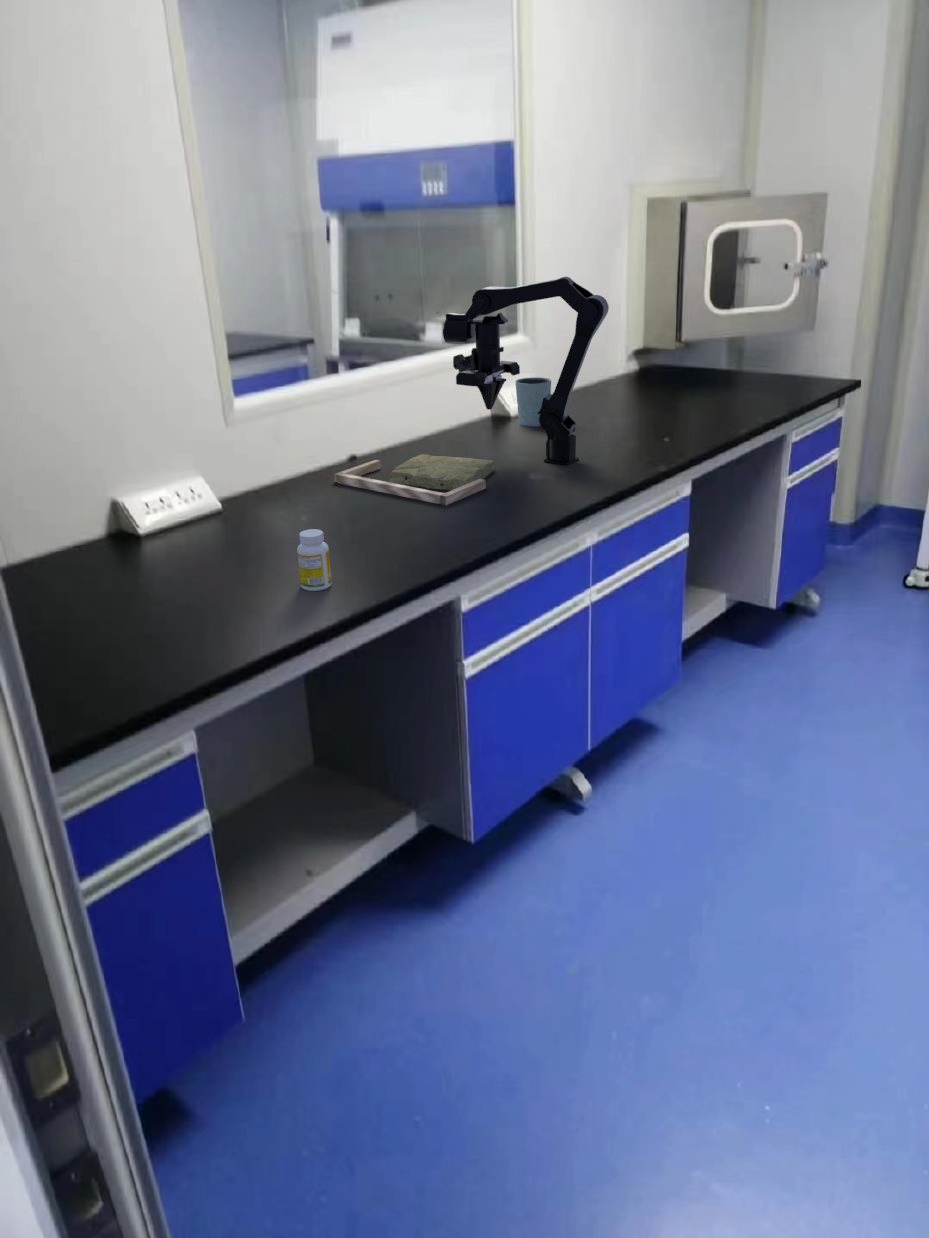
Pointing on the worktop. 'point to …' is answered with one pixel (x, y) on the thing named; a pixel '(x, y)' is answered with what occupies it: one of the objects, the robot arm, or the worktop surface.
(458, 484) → the decorative tile
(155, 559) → the worktop surface
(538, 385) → the light blue cup
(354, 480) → the frame
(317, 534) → the supplement bottle
